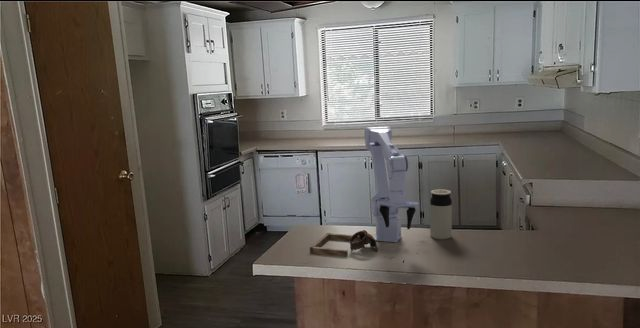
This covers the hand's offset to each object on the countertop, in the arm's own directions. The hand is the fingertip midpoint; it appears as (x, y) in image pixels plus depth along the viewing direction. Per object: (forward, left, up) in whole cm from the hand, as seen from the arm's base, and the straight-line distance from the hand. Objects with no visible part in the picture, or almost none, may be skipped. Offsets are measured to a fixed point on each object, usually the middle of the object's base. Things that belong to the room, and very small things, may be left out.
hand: (398, 227), depth 165 cm
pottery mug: (+13, 0, -10) cm, 16 cm away
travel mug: (-11, -22, -10) cm, 27 cm away
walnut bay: (+23, 0, -9) cm, 25 cm away
